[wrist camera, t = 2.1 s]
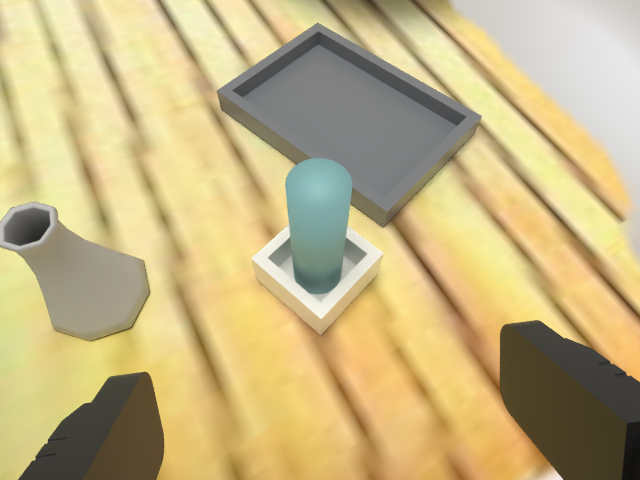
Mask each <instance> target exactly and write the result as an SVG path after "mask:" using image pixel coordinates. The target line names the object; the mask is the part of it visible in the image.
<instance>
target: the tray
mask: <svg viewBox="0 0 640 480" xmlns="http://www.w3.org/2000/svg"><path fill="white" fill-rule="evenodd" d="M217 94H218V98H219V102H220V106H221V110H223V111H224V112H225V113H227V114H228V115H230V116H231V117H232V118H234V119H235V120H236V121H238V122H239V123H241V124H242V125H243V126H245V127H246V128H247V129H249V130H250V131H252V132H253V133H254V134H256V135H257V136H258V137H260V138H261V139H263V140H264V141H265V142H267V143H268V144H269V145H271V146H272V147H274V148H275V149H276V150H278V151H279V152H280V153H282V154H283V155H285V156H286V157H287V158H289V159H290V160H291V161H293V162H294V163H296V164H299V163H300V162H302V161H305V160H308V159H313V158H325V159H330V160H333V161H335V162H337V163H339V164H340V165H342V166H343V167H344V168H345V169H346V170H347V171H348V173H349V174H350V176H351V179H352V193H351V201H350V204H352V205H353V206H355V207H356V208H357V209H359V210H360V211H361V212H363V213H364V214H366V215H367V216H368V217H370V218H371V219H372V220H374V221H375V222H377V223H378V224H379V225H381V226H382V227H384V226H385V225H386V224H387V223H388V222H389V221H390V220H391V219H392V218H393V217H394V216H395V215H396V214H397V213H398V212H399V211H400V210H401V209H402V208H403V207H404V206H405V205H406V204H407V202H408V201H409V200H410V199H411V198H412V197H413V196H414V195H415V194H416V193H417V192H418V191H419V190H420V189H421V188H422V187H423V186H424V185H425V184H426V183H427V182H428V181H429V180H430V179H431V178H432V177H433V176H434V175H435V174H436V173H437V172H438V171H439V170H440V169H441V168H442V167H443V166H444V165H445V164H446V163H447V162H448V160H449V159H450V158H451V157H452V156H453V155H454V154H455V153H456V152H457V151H458V150H459V149H460V148H461V147H462V146H463V145H464V144H465V143H466V142H467V141H468V140H469V139H470V138H471V137H472V136H473V135H474V133H475V131H476V129H477V127H478V124H479V122H480V120H481V118H482V116H481V115H479V114H477V113H475V112H474V111H472V110H470V109H468V108H467V107H465V106H463V105H461V104H460V103H458V102H456V101H454V100H453V99H451V98H449V97H447V96H446V95H444V94H442V93H440V92H438V91H437V90H435V89H433V88H431V87H430V86H428V85H426V84H424V83H423V82H421V81H419V80H417V79H416V78H414V77H412V76H410V75H409V74H407V73H405V72H403V71H402V70H400V69H398V68H396V67H395V66H393V65H391V64H389V63H388V62H386V61H384V60H382V59H381V58H379V57H377V56H375V55H374V54H372V53H370V52H368V51H367V50H365V49H363V48H361V47H359V46H358V45H356V44H354V43H352V42H351V41H349V40H347V39H345V38H344V37H342V36H340V35H338V34H337V33H335V32H333V31H331V30H330V29H328V28H326V27H324V26H323V25H321V24H319V23H317V24H315V25H314V26H312V27H311V28H309V29H308V30H306V31H305V32H303V33H302V34H300V35H299V36H297V37H296V38H294V39H293V40H291V41H290V42H288V43H287V44H285V45H284V46H282V47H281V48H279V49H278V50H277V51H275V52H274V53H272V54H271V55H269V56H268V57H266V58H265V59H263V60H262V61H260V62H259V63H257V64H256V65H254V66H253V67H251V68H250V69H248V70H247V71H245V72H244V73H242V74H241V75H239V76H238V77H236V78H235V79H233V80H232V81H230V82H229V83H228V84H226V85H225V86H223V87H222V88H220V89H219V90H217Z"/></svg>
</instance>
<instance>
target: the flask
mask: <svg viewBox="0 0 640 480" xmlns="http://www.w3.org/2000/svg"><path fill="white" fill-rule="evenodd" d="M0 247H1V248H4V249H7V250H11V251H14V252H17V253H18V254H19V255H20V256H21V257H23V258H24V259H25V261H26V262H27V264H28V265H29V267H30V268H31V269H32V271H33V272H34V274H35V275H36V277H37V280H38V283H39V286H40V288H41V291H42V294H43V297H44V299H45V302H46V306H47V309H48V313H49V316H50V319H51V323H52V326H53V328H54V330H56V331H59V332H62V333H65V334H69V335H72V336H75V337H78V338H81V339H85V340H88V341H92V340H95V339H98V338H101V337H104V336H107V335H110V334H113V333H116V332H119V331H122V330H125V329H128V328H131V326H132V324H133V322H134V321H135V319H136V317H137V315H138V313H139V311H140V309H141V307H142V305H143V304H144V302H145V300H146V298H147V296H148V294H149V287H148V282H147V277H146V271H145V266H144V261H143V260H141V259H139V258H136V257H133V256H130V255H127V254H123V253H120V252H117V251H114V250H111V249H108V248H106V247H103V246H100V245H98V244H95V243H92V242H89V241H87V240H85V239H83V238H81V237H80V236H78V235H76V234H75V233H73V232H72V231H70V230H68V229H67V228H66V227H65V226H64V225H63V224H62V223H61V222H60V221H59V220H58V213H57V210H56V208H55V207H52V206H49V205H45V204H41V203H38V202H31V203H28V204H24V205H20V206H16V207H13V208H11V209H10V210H9V211H8V213H7V214H6V215H5V216H4V218H3V219H2V220H1V221H0Z"/></svg>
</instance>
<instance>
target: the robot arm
mask: <svg viewBox="0 0 640 480" xmlns="http://www.w3.org/2000/svg"><path fill="white" fill-rule="evenodd" d="M500 391H501V395H502V399H503V402H504V404H505V407H506V409H507V410H508V412H509V413H510V415H511V416H512V417H513V418H514V420H515V421H516V422H517V423H518V425H519V426H520V427H521V428H522V429H523V431H524V432H525V433H526V434H527V436H528V437H529V438H530V439H531V440H532V442H533V443H534V444H535V445H536V447H537V448H538V449H539V450H540V451H541V453H542V454H543V455H544V456H545V458H546V459H547V460H548V461H549V462H550V464H551V465H552V466H553V467H554V469H555V470H556V471H557V472H558V474H559V475H560V476H561V477H562V478H563V480H640V382H639V381H637V380H636V379H634V378H633V377H632V376H627V375H626V372H624V371H623V370H622V369H620V368H619V367H617V366H616V365H614V364H610V361H609V360H607V359H606V358H604V357H603V356H601V355H600V354H599V353H597V352H596V351H594V350H593V349H591V348H589V347H587V346H584V345H582V344H579V343H577V342H574V341H572V340H569V339H567V338H565V339H564V338H563V337H561V336H560V335H559V334H557V333H556V332H555V331H553V330H552V329H550V328H549V327H548V326H546V325H545V324H544V323H542V322H541V321H538V320H534V321H527V322H520V323H512V324H506V325H504V326H503V327H502V329H501V333H500ZM163 455H164V434H163V429H162V424H161V420H160V415H159V411H158V406H157V401H156V397H155V392H154V388H153V383H152V380H151V377H150V375H149V374H148V373H147V372H140V373H132V374H125V375H118V376H111V377H109V378H108V379H107V381H106V382H105V383H104V385H103V386H102V388H101V389H100V391H99V392H98V394H97V395H96V397H95V398H94V399H93V401H92V402H91V403H85V404H83V405H82V406H80V407H79V408H78V409H77V410H75V411H74V412H73V413H71V414H70V415H69V416H68V417H66V418H65V419H64V420H63V421H62V422H61V423H60V424H59V426H58V427H57V428H56V430H55V431H54V432H53V434H52V435H51V436H50V438H49V439H48V443H47V444H44V446H43V447H42V448H41V450H40V451H39V453H38V454H37V455H36V459H35V461H32V462H31V463H30V465H29V466H28V467H27V469H26V470H25V471H24V473H23V474H22V475H21V477H20V478H19V479H18V480H156V479H157V476H158V473H159V470H160V467H161V464H162V461H163Z"/></svg>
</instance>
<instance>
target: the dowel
mask: <svg viewBox="0 0 640 480" xmlns="http://www.w3.org/2000/svg"><path fill="white" fill-rule="evenodd" d="M285 186H286V196H287V207H288V218H289V228H290V239H291V250H292V261H293V271H294V278H295V281H296V283H298V284H299V285H300V286H301V287H302V288H303V289H305V290H306V291H307V292H308V293H311V294H325V293H327V292H330V291H331V290H333V289H334V288H335V287H336V286H337V285H338V283H339V281H340V278H341V272H342V264H343V256H344V248H345V240H346V232H347V224H348V217H349V209H350V201H351V193H352V179H351V176H350V174H349V173H348V171H347V170H346V169H345V168H344V167H343V166H342V165H340V164H339V163H337V162H335V161H333V160H330V159H325V158H313V159H308V160H305V161H302V162H300V163H299V164H297V165H296V166H294V167H293V168H292V169H291V171H290V172H289V174H288V176H287V178H286V184H285Z"/></svg>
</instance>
